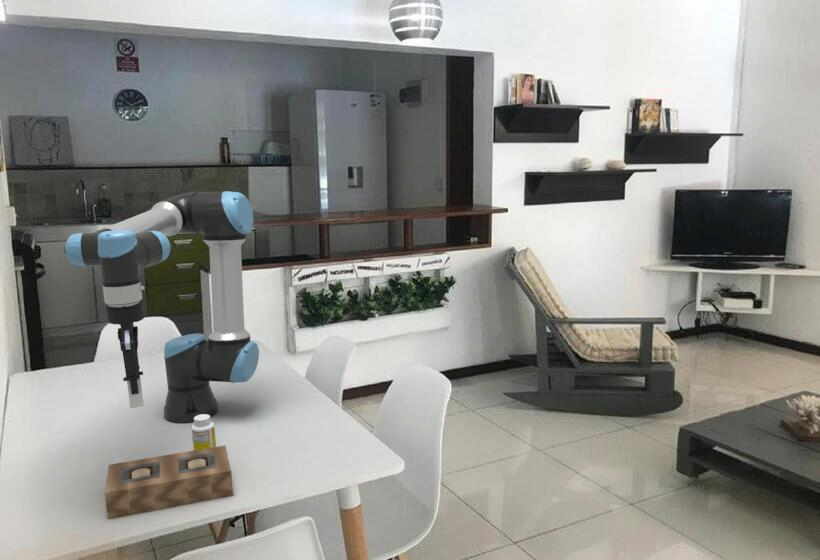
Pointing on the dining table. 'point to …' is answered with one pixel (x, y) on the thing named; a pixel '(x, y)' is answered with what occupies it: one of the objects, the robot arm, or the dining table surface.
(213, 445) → the supplement bottle
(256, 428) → the dining table surface
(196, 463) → the short peg
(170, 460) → the socket block
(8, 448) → the dining table surface
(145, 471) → the beige round peg
